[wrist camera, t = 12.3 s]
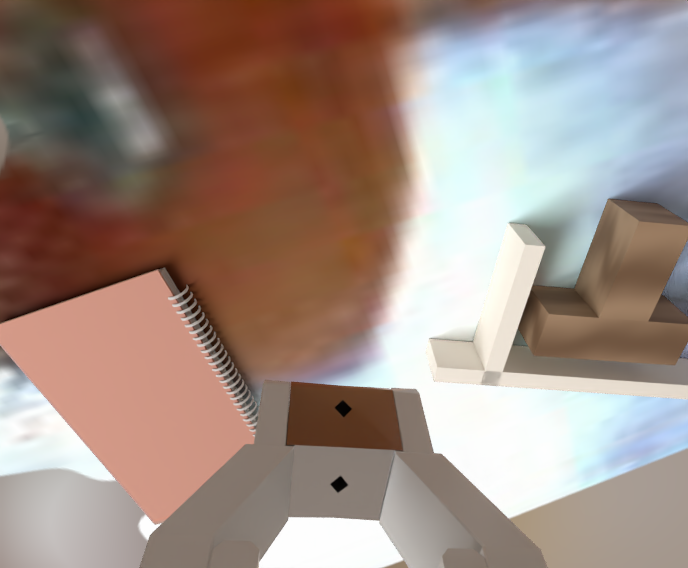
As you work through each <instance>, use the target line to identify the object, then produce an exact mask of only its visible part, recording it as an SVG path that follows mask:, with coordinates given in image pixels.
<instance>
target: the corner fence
mask: <svg viewBox="0 0 688 568" xmlns="http://www.w3.org/2000/svg"><path fill="white" fill-rule="evenodd" d="M545 247H546V246H545V245H544V244H543V243H542V242H541V241H540V240H539V238H538V237H537V236H536V235H535V234H534V233H533V232H532V230H531V229H530V228H529V227H528V226H527V225H524V224H514V223H508V224H507V228H506V231H505V234H504V238H503V241H502V245H501V248H500V251H499V255H498V258H497V261H496V265H495V268H494V272H493V275H492V278H491V282H490V285H489V289H488V292H487V295H486V299H485V302H484V305H483V309H482V312H481V316H480V319H479V322H478V326H477V329H476V333H475V336H474V339H473V342H466V341H453V340H440V339H429V340H428V344H427V348H426V356H427V359H428V363H429V366H430V370H431V373H432V377H433V380H434V382H448V383H462V384H476V385H491V386H505V387H519V388H534V389H548V390H562V391H576V392H591V393H605V394H619V395H633V396H648V397H662V398H676V399H688V359H686V358H679V359H678V361H677V363H676V365H661V364H646V363H631V362H616V361H601V360H586V359H571V358H557V357H542V356H534V355H533V354H532V352H531V350H530V348H529V347H528V346H518V345H512V343H513V340H514V337H515V334H516V332H517V329H518V326H519V323H520V320H521V317H522V314H523V311H524V308H525V305H526V302H527V299H528V297H529V294H530V291H531V288H532V285H533V282H534V279H535V276H536V273H537V270H538V267H539V265H540V262H541V259H542V256H543V253H544V250H545Z"/></svg>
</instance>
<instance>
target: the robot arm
mask: <svg viewBox="0 0 688 568" xmlns="http://www.w3.org/2000/svg"><path fill="white" fill-rule="evenodd" d="M289 399H290V402H289ZM288 517H334V518H349V519H364V520H379V523H380V525H381V526H382V528H383V529H384V531H385V532H386V534H387V535H388V537H389V538H390V540H391V541H392V543H393V544H394V546H395V547H396V549H397V550H398V552H399V554H400V555H401V557H402V558H403V560H404V561H405V563H406V564H407V566H408V567H409V568H548V567H547V565H546V562H545V560H544V557H543V555H542V552H541V550H540V549H539V548H538V547H537V546H536V545H535V544H534V543H533V542H532V541H531V540H530V539H529V538H528V537H527V536H526V535H525V534H524V533H523V532H522V531H521V530H520V529H519V528H518V527H517V526H516V525H515V524H514V523H513V522H511V521H510V520H509V519H508V518H507V517H506V516H505V515H504V514H503V513H502V512H501V511H500V510H499V509H498V508H497V507H496V506H495V505H494V504H493V503H492V502H491V501H490V500H489V499H488V498H487V497H486V496H485V495H484V494H483V493H482V492H480V491H479V490H478V489H477V488H476V487H475V486H474V485H473V484H472V483H471V482H470V481H469V480H468V479H467V478H466V477H465V476H464V475H463V474H462V473H461V472H460V471H459V470H458V469H457V468H456V467H455V466H454V465H453V464H452V463H451V462H449V461H448V460H447V459H446V458H445V457H444V456H443V455H442V454H436V453H434V452H433V448H432V444H431V440H430V436H429V431H428V427H427V423H426V419H425V415H424V411H423V407H422V403H421V399H420V395H419V392H418V391H417V390H416V389H401V388H391V389H389V388H371V387H353V386H337V385H325V384H313V383H301V382H291V390H290V382H284V381H272V380H265V381H264V383H263V387H262V393H261V400H260V406H259V413H258V419H257V426H256V432H255V439H254V444H245V445H244V446H243V447H242V448H241V449H240V450H239V451H238V452H237V453H236V454H235V455H233V456H232V457H231V458H230V459H229V460H228V461H227V462H226V463H225V464H224V465H223V466H222V467H221V468H220V469H219V470H218V471H217V472H216V473H215V474H214V475H213V476H211V477H210V478H209V479H208V480H207V481H206V482H205V483H204V484H203V485H202V486H201V487H200V488H199V489H198V490H197V491H196V492H195V493H194V494H193V495H192V496H190V497H189V498H188V499H187V500H186V501H185V502H184V503H183V504H182V505H181V506H180V507H179V508H178V509H177V510H176V511H175V512H174V513H173V514H172V515H171V516H170V517H168V518H167V519H166V520H165V521H164V522H163V523H162V524H161V525H160V526H159V527H158V528H157V529H156V530H155V531H154V532H153V533H152V534H151V535H150V537H149V540H148V543H147V546H146V549H145V552H144V555H143V558H142V561H141V564H140V568H259V561H260V560H261V559H262V557H263V556H264V554H265V553H266V551H267V550H268V548H269V547H270V546H271V544H272V543H273V541H274V540H275V538H276V537H277V535H278V534H279V532H280V531H281V530H282V528H283V527H284V525H285V524H286V522H287V521H288Z"/></svg>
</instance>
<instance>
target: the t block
mask: <svg viewBox="0 0 688 568" xmlns="http://www.w3.org/2000/svg"><path fill="white" fill-rule="evenodd" d="M687 240H688V222H686V221H685V220H683V219H681V218H680V217H678V216H677V215H675V214H673V213H672V212H670V211H669V210H667V209H665V208H664V207H662V206H661V205H659V204H657V203H647V202H636V201H626V200H615V199H608V200H607V203H606V206H605V208H604V211H603V214H602V216H601V219H600V222H599V224H598V227H597V229H596V232H595V235H594V237H593V240H592V243H591V245H590V248H589V251H588V253H587V256H586V259H585V261H584V264H583V266H582V269H581V272H580V274H579V277H578V280H577V282H576V285H575V288H574V289H573V288H560V287H547V286H534V285H532V288H531V291H530V294H529V297H528V299H527V302H526V305H525V308H524V311H523V314H522V317H521V320H520V323H519V326H518V329H519V331H520V333H521V335H522V336H523V338H524V340H525V342H526V343H527V345H528V347H529V348H530V350H531V352H532V354H533V355H534V356H542V357H557V358H571V359H586V360H601V361H616V362H631V363H646V364H661V365H676V363H677V361H678V359H679V357H680V355H681V353H682V352H683V350H684V348H685V346H686V344H687V342H688V317H687V316H686V315H685V314H684V313H683V312H681V311H680V310H679V309H678V308H677V307H676V306H675V305H674V304H672V303H671V302H670V301H669V300H668V299H667V298H666V297H664V296H663V295H661V294H662V292H663V290H664V288H665V286H666V283H667V281H668V279H669V277H670V275H671V273H672V271H673V269H674V267H675V265H676V263H677V260H678V258H679V256H680V254H681V252H682V250H683V248H684V246H685V244H686V242H687Z"/></svg>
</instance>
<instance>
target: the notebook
mask: <svg viewBox="0 0 688 568" xmlns="http://www.w3.org/2000/svg"><path fill="white" fill-rule="evenodd" d="M188 289H189V287H188V285H186V289H185V290H184V291H183V292H182V293H180V292H179V290H178V288H177V287H176V285H175V283H174V282H173V280H172V278H171V277H170V275H169V273H168V272H167V270H166V268H162V269H157V270H154V271H151V272H148V273H145V274H142V275H139V276H136V277H133V278H130V279H127V280H125V281H122V282H119V283H116V284H113V285H110V286H107V287H104V288H101V289H98V290H95V291H92V292H90V293H87V294H84V295H81V296H78V297H75V298H72V299H69V300H66V301H63V302H60V303H58V304H55V305H52V306H49V307H46V308H43V309H40V310H37V311H34V312H31V313H28V314H26V315H23V316H20V317H17V318H14V319H11V320H8V321H5V322H2V323H0V346H1V347H2V348H3V349H4V350H5V351H6V353H7V354H8V355H9V356H10V357H11V358H12V360H13V361H14V362H15V363H16V364H17V365H18V367H19V368H20V369H21V370H22V371H23V372H24V374H25V375H26V376H27V377H28V378H29V379H30V380H31V382H32V383H33V384H34V385H35V386H36V387H37V389H38V390H39V391H40V392H41V393H42V394H43V396H44V397H45V398H46V399H47V400H48V401H49V403H50V404H51V405H52V406H53V407H54V408H55V410H56V411H57V412H58V413H59V414H60V415H61V416H62V418H63V419H64V420H65V421H66V422H67V423H68V425H69V426H70V427H71V428H72V429H73V430H74V432H75V433H76V434H77V435H78V436H79V437H80V439H81V440H82V441H83V442H84V443H85V444H86V445H87V447H88V448H89V449H90V450H91V451H92V452H93V454H94V455H95V456H96V457H97V458H98V459H99V461H100V462H101V463H102V464H103V465H104V466H105V468H106V469H107V470H108V471H109V472H110V473H111V474H112V476H113V477H114V478H115V479H116V480H117V481H118V483H119V484H120V485H121V486H122V487H123V488H124V490H125V491H126V492H127V493H128V494H129V495H130V497H131V498H132V499H133V500H134V501H135V502H136V503H137V505H138V506H139V507H140V508H141V509H142V510H143V512H144V513H145V514H146V515H147V516H148V517H149V519H150V520H151V521H152V522H153V523H154V524H159V523H163V522H164V521H165V520H166V519H167V518H168V517H170V516H171V515H172V514H173V513H174V512H175V511H176V510H177V509H178V508H179V507H180V506H181V505H182V504H183V503H184V502H185V501H186V500H187V499H188V498H189V497H190V496H192V495H193V494H194V493H195V492H196V491H197V490H198V489H199V488H200V487H201V486H202V485H203V484H204V483H205V482H206V481H207V480H208V479H209V478H210V477H211V476H213V475H214V474H215V473H216V472H217V471H218V470H219V469H220V468H221V467H222V466H223V465H224V464H225V463H226V462H227V461H228V460H229V459H230V458H231V457H232V456H233V455H235V454H236V453H237V452H238V451H239V450H240V449H241V448H242V447H243V446H244V445H245V444H254V439H255V432H256V426H257V420H256V417H257V416H258V413H259V406H257V402H256V401H254V397H253V396H251V393H250V391H249V390H248V392H249V395H248V396H247V398H246V399H245V400H244V398H243V397H242V396H244V395H245V393H246V392H247V389H248V388H247V385H245V387H246V388H245V391H244V392H243V393H242V394H241V393H240V392H239V390H241V389H242V387H243V386H244V380H243V379H242V384H241V386H240V387H239V388H237V387H236V384H238V382H239V381H240V379H241V375H240V374H238V375H239V378H238V380H237V381H236V382H235V383H234V382H233V380H232V379H233V378H234V377H235V376H236V375H237V372H238V371H237V368H235V370H236V371H235V373H234V375H233V376H232V377H230V375H229V373H230V372H231V371H232V370H233V368H234V363H233V362H231V363H232V367H231V368H230V369H229V370H228V371H227V370H226V368H225V367H227V366H228V364H229V363H230V360H231V359H230V357H229V356H228V361H227V363H226V364H225V365H223V363H222V362H221V361H223V360H224V359H225V357H226V356H227V351H226V350H224V351H225V354H224V356H223V357H222V358H221V359H220V358H219V357H218V355H219V354H220V353H221V352H222V351H223V348H224V347H223V345H222V344H221V346H222V347H221V349H220V350H219V351H218V352H217V353H216V352H215V350H214V349H215V348H216V347H217V346H218V345H219V343H220V340H219V338H217V339H218V341H217V343H216V344H215V345H214V346H213V347H212V345H211V342H212V341H213V340H214V339H215V338H216V333H215V332H214V335H213V337H212V338H211V339H210V340H208V338H207V337H206V336H208V335H209V334H210V333H211V332H212V329H213V328H212V326H211V325H210V330H209V331H208V332H207V333H206V334H205V333H204V332H203V329H204V328H205V327H207V325H208V323H209V321H208V319H206V320H207V321H206V323H205V325H204V326H203V327H200V325H199V323H200V322H201V321H202V320H203V319H204V317H205V314H204V312H202V314H203V315H202V317H201V318H200V319H199V320H198V321H197V320H196V318H195V316H196V315H197V314H199V312H200V311H201V307H200V306H198V307H199V308H198V310H197V311H196V312H195V313H194V314H193V313H192V312H191V309H192V308H194V307H195V305H196V304H197V300H196V299H194V300H195V301H194V303H193V304H192V305H191V306H190V307H188V305H187V302H188V301H189V300H190V299H191V298H192V297H193V294H192V292H190V296H189V297H188V298H187V299H186V300H184V298H183V297H182V295H184V294H185V293H186V292H187V291H188ZM250 396H251V397H252V401H251V402H250V403H249V404H248V405H247V403H246V401H247V400H248V399H249V398H250ZM253 401H254V402H255V406H254V408H253V409H252V410H250V408H249V407H250V406H251V405H252V403H253ZM256 407H258V412H257V413H256V415H253V413H252V412H254V411H255V409H256Z"/></svg>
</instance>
